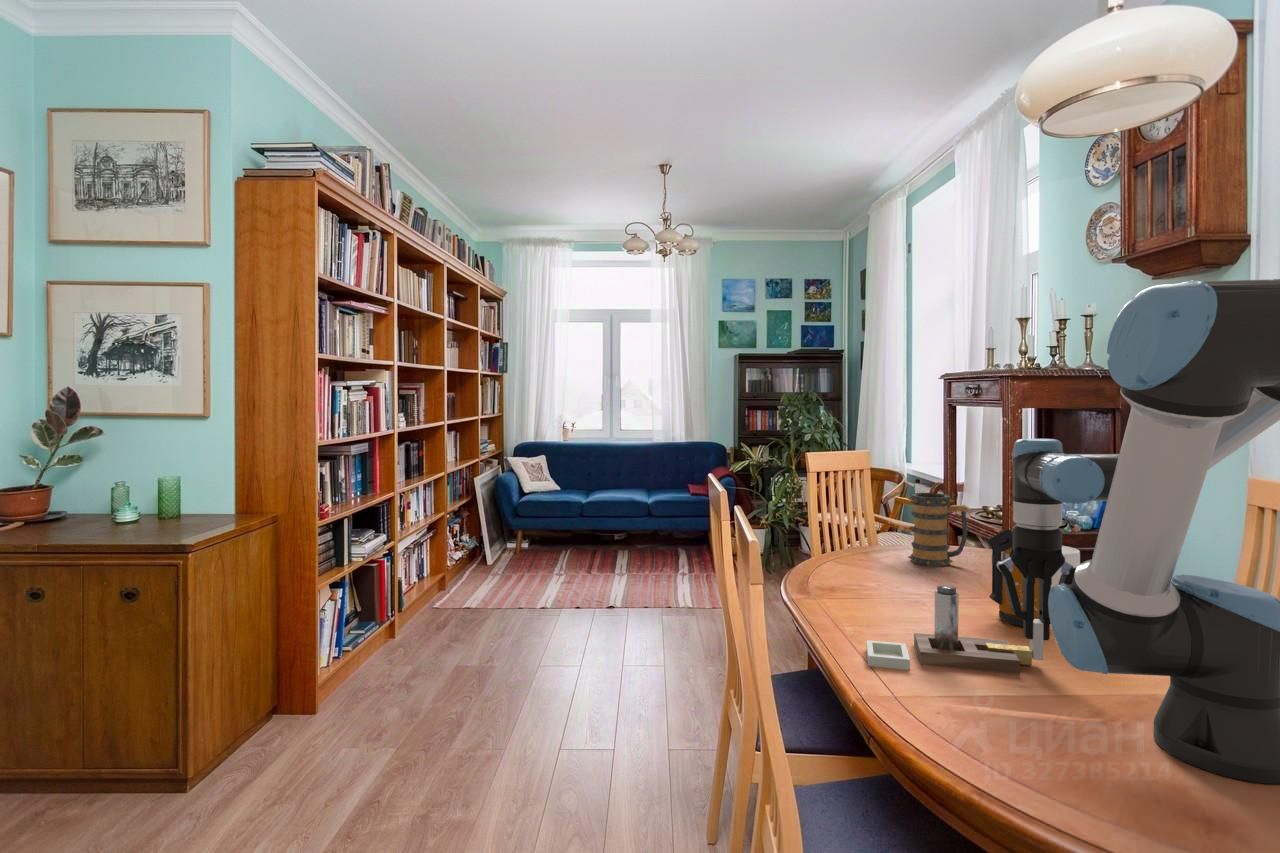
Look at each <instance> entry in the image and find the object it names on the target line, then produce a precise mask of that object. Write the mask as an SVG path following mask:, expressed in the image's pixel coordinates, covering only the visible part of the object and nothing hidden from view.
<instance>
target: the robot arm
mask: <svg viewBox="0 0 1280 853" xmlns="http://www.w3.org/2000/svg"><path fill="white" fill-rule="evenodd" d="M1106 346H1107V347H1106V353H1107V354H1108V355H1109V357H1108V359H1107V360H1106V364H1107V368H1108V371H1109V374H1110V377H1111V379H1112V380H1113V381H1114V382H1115V383H1116V384H1117V385H1118V386H1120V395H1121V396H1122V398H1123V400H1125V401H1126V402H1127V403H1128V404H1129V405H1130V406H1131V407H1130V411H1129V412H1130V413H1129V416H1128V420H1127V424H1126V426H1125V431H1124V434H1123V439H1122V442H1121V443H1122V444H1121V447H1120V450H1119V453H1109V454H1108V453H1107V454H1106V453H1103V454H1102V453H1064V450H1063V449H1064V448H1063V443H1062V442H1061V440H1058V439H1055V438H1021V439H1020V438H1019V439H1016V440H1015V441H1014V444H1013V454H1012V457H1011V460H1012V522H1014V523H1015V524H1014V525H1013V526H1012V531H1013V549H1012V551H1011V553H1010V555H1009V557H1010V558H1008V559H1006V560H1004V561H1002V562H1001V561H998V562H996V566H997V568H998V569H999V570H1000V572H1001V573H1002V576H1003V579H1004V583H1005V587H1006V591H1007V595H1008V598H1009V602H1010V606H1011V610H1012V612H1013V613H1014V615H1015V616H1016V617H1018V618H1022V619H1023V626H1022V628H1023V629H1022V631H1023V633H1022V634H1023V636H1024V638H1025V639H1027V640H1029V648H1030V649H1031V651H1032V660H1036V661H1044V641H1049V640H1050V637H1051V636H1050V635H1051V632H1050V630H1052V634H1053V638H1054V639H1055V642H1056V644H1057V647H1058V649H1059V651H1060V653H1061V655H1062V656H1063V658H1064V660H1066V662H1068V664H1069V666H1072V667H1073V668H1075V669H1077V670H1080V671H1082V672H1083V671H1084V672H1092V673H1099V674H1103V675H1109V674H1112V675H1113V674H1114V675H1115V674H1117V675H1137V676H1139V675H1142V676H1161V677H1169V678H1170V679H1169V686H1168V689H1167V690H1166V693H1165V695H1164V698H1163V699H1162V702H1161V704H1160V706H1159V708H1158V710H1157V712H1156V714H1155V717H1154V718H1153V729H1152V731H1153V733H1152V734H1153V739H1154V741H1155V742H1156V743H1157V744H1158V746H1160V748H1161V749H1163V750H1164V751H1165V752H1167V753H1168V754H1169V755H1172V756H1173V757H1175V758H1177V759H1179V760H1181V761H1182V762H1185V763H1187V764H1190V765H1192V766H1194V767H1197V768H1199V769H1202V770H1205V771H1208V772H1211V773H1213V774H1217V775H1220V776H1223V777H1227V778H1231V779H1237V780H1241V781H1245V782H1252V783H1259V784H1271V785H1272V784H1278V785H1280V599H1279V598H1277V597H1276V596H1274V595H1273V594H1270V593H1268V592H1265V591H1263V590H1260V589H1256V588H1254V587H1250V586H1247V585H1243V584H1238V583H1235V582H1230V581H1225V580H1222V579H1218V578H1217V579H1216V578H1212V577H1205V576H1199V575H1191V574H1179V575H1174V573H1175V570H1176V567H1177V564H1178V561H1179V558H1180V555H1181V552H1182V549H1183V545H1184V543H1185V540H1186V536H1187V534H1188V530H1189V527H1190V524H1191V521H1192V518H1193V516H1194V512H1195V509H1196V506H1197V504H1198V501H1199V498H1200V493H1201V491H1202V489H1203V485H1204V482H1205V480H1206V476H1207V473H1208V470H1210V469H1212V468H1213V467H1215V465H1217V464H1219V463H1221V461H1223V460H1224V459H1227V457H1229V456H1231V455H1232V454H1233V453H1235V452H1236V451H1237V450H1239V449H1240V448H1242V447H1243V446H1245V445H1246V444H1248V443H1249V442H1250V441H1252V440H1253V439H1254V438H1256V437H1257V436H1259V435H1260V434H1262V433H1263V432H1265V431H1266V430H1268V429H1269V428H1271V427H1272V426H1273V425H1275V424H1276V423H1278V422H1279V421H1280V278H1279V279H1278V278H1277V279H1275V278H1272V279H1271V278H1269V279H1241V280H1237V279H1236V280H1204V281H1203V280H1201V281H1200V280H1197V279H1195V280H1193V279H1192V280H1187V281H1185V280H1184V281H1181V282H1177V283H1166V284H1157V285H1153V286H1148V287H1147V288H1144V289H1142V290H1141V291H1139V292H1138V293H1137V294H1136V295H1135V296H1133V297H1131V298H1130V299H1129V300H1128V301H1127V302H1126V304H1124V306H1123V307H1122V309H1120V311H1119V313H1118V314H1117V316H1116V318H1115V320H1114V322H1113V324H1112V327H1111V329H1110V333H1109V335H1108V341H1107V345H1106ZM1092 501H1093V502H1106V504H1105V508H1104V511H1103V516H1102V518H1101V523H1100V526H1099V531H1098V534H1097V538H1096V543H1095V546H1094V549H1093V554H1092V557H1091V558H1092V559H1088V560H1085V561H1083V562H1080V565H1079V566H1078V567H1075V566H1074V565H1070V564H1069V563H1067V562H1066V561H1065V557H1064V556H1063V554H1062V546H1063V531H1062V529H1061V526H1062V525H1063V503H1065V504H1075V505H1079V504H1080V505H1081V504H1082V505H1083V504H1086V503H1089V502H1092ZM1013 564H1014V565H1015V566H1016V567H1017V569H1018V570H1019V571H1020V572H1021V574H1022V579H1023V610H1021V606H1020V602H1019V598H1018V594H1017V591H1016V587H1015V583H1014V579H1013V576H1012V574H1011V572H1012V571H1013V567H1012V565H1013ZM1061 567H1062V568H1061ZM1060 568H1061V573H1062V575H1061V577H1060V580H1059V584H1058V585H1056V586H1053V587H1052V588H1051V584H1052V577H1053V576H1054V574H1055V573H1056V572H1057V571H1058V570H1059V569H1060ZM1035 578H1038V580H1039V617H1040V620H1039V619H1034V584H1035ZM1050 626H1051V627H1050Z"/></svg>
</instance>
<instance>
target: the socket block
mask: <svg viewBox="0 0 1280 853" xmlns="http://www.w3.org/2000/svg"><path fill="white" fill-rule="evenodd" d="M913 638H914V639H913V646H914V648H915V652H916V656H917V658H918V661H919V664H920V665H921V666H930V667H931V666H932V667H943V668H952V669H960V670H963V669H964V670H972V671H973V670H975V671H983V672H994V673H995V672H997V673H1005V674H1014V675H1015V674H1017V675H1020V674H1021V664H1020V660H1019V659H1018V657H1017V656H1016V654H1015V653H1006V652H995V651H985V646H986V643H992V644H1004V645H1010V644H1009V643H1008V641H1007V639H1006V640H1002V639H995V638H994V639H992V638H991V639H990V638H981V637H979V638H978V637H967V636H958V651H954V650H943V649H934V634H929V633H920V632H919V633H917V632H915V633H913Z"/></svg>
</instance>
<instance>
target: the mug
mask: <svg viewBox="0 0 1280 853" xmlns="http://www.w3.org/2000/svg"><path fill="white" fill-rule="evenodd" d="M906 499H908V500H909V501H910V503H911V505H912V512H911V515H912V516H913V519H914V520H913V524H914V525H913V528H912V529H911V530H912V531H913V532H914V534H913V535H914V537H913V541H912V542H911V547H912V553H911V554H910V555H908V556H907V558H909V559H910V561H911V563H913V564H915V565H919V566H923V567H931V568H932V567H933V568H941V567H947V566H950V564H951V563H954V562H955V561H954V560H952V559H950V558H952V557H957V556H960V555H961V553H962V552H963V549H964V547H965V545H966V542H967V537H968V523H967V512H969V511H971V510H972V508H970V507H969V506H967V505H965V504H954V505H951V503H953V502H954V500H953V499H952V498H951V496H950V494H947V493H937V492H915V493H914V492H913V493H911V494H910V496H909V497H907V498H906ZM952 512H960V514H961V520H960V521H961V526H962V537H961V541H960V543H959V546H958V547H957V549H955V550H949V549H950V547H951V546H950V545H949V544H948V540H947V539H948V537H947V535H948V532H949V529H948V528H947V525H948V522H947V521H948V518H950V516H951V515H950V514H949V513H952Z"/></svg>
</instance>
